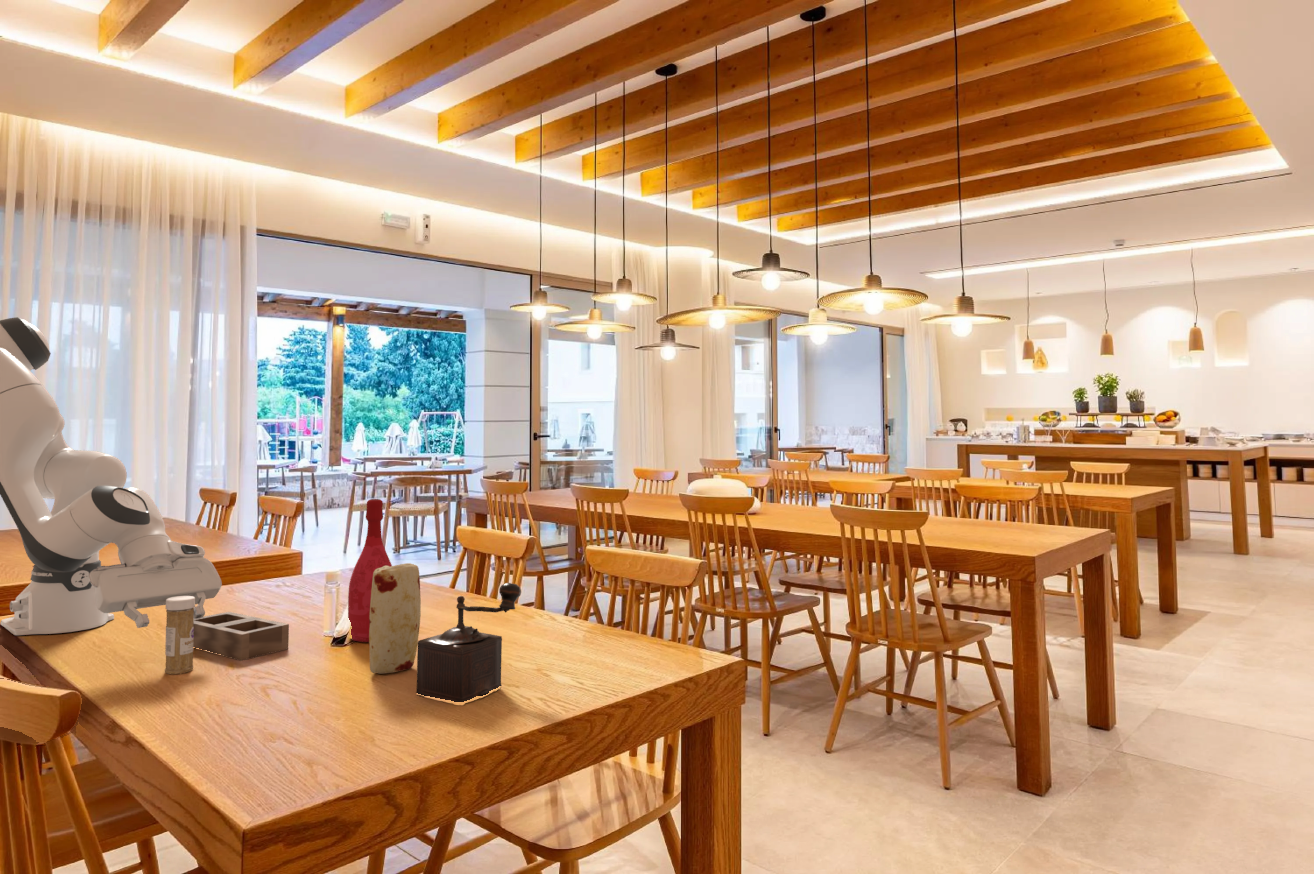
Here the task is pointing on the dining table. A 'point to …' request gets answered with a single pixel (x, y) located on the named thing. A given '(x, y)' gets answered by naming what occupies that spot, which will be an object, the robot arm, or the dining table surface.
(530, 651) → the dining table surface
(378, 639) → the food model
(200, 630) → the rail
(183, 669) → the sprinkles bottle
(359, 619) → the wine bottle
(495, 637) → the coffee grinder
